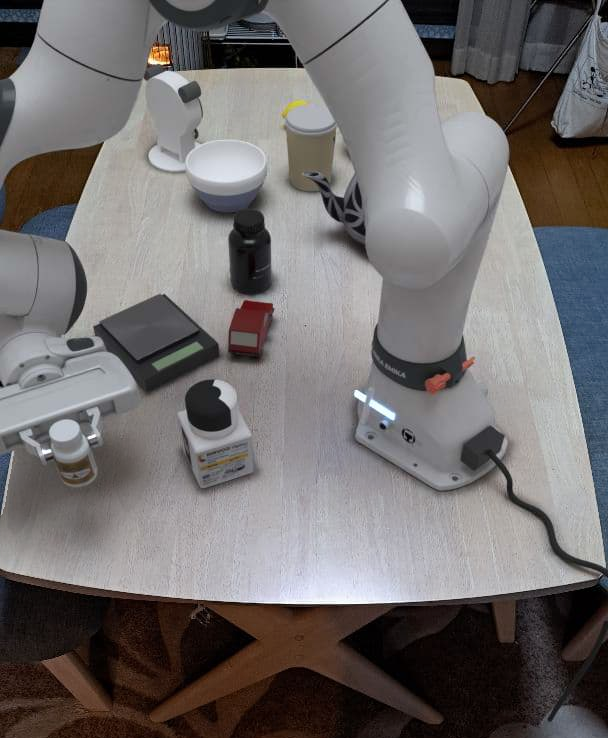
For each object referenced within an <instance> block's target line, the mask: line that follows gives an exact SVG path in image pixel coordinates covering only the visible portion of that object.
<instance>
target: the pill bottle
mask: <svg viewBox="0 0 608 738" xmlns="http://www.w3.org/2000/svg"><path fill="white" fill-rule="evenodd" d="M49 435H50V442H51V444H50V449H51V451H52V454H53V457H54V459H55V462H54V463H55V466H56V470H57V471H58V474H59V477H60V479H61V481H62V483H63V484H65V485H66V486H68V487H70V488H82V487H85V486H88V485H90V484H91V483H93V482H94V480H96V478H97V475H98V466H97V463H96V459H95V456H94V453H93V451H92V449H91V447H90V444H89V441H88V439H87V437H86V434H83V432H82V428H80V426H79V425H78V423H77V422H75V421H73V420H67V419H66V420H60V421H58V422H56V423H54V424H53V425H52V426H51V428H50V430H49Z"/></svg>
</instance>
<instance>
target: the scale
mask: <svg viewBox="0 0 608 738" xmlns="http://www.w3.org/2000/svg"><path fill="white" fill-rule="evenodd" d="M98 322H99V323H98V324H97V323H96V325H93V326H92V328H93V333H94V336H97V337H100V338H101V339H102V340H103V342H104V345H105V347H106V349H107V352H110V353H112V354H114V355H116V356H117V357H118V358H119V359H120V360H121V361H122V362H123V364H124V365H125V366H126V367H127V369H128V370H129V372H130V373H131V375H132V376H133V378H134V380H135V381H136V383H137V384H139V385H140V386H141V387H142V389H144V391H145V392H146V393H150V392H152V391H153V390H155V389H157V388H159V387H162V386H163V385H165V384H167V383H169V382H172V380H175V379H177V378H179V377H181V376H183V375H185V374H187V373H189V372H191V371H192V370H195V369H197V368H199V367H200V366H202V365H204V364H206V363H208V362H210V361H212V360H214V359H216V358H218V357H220V356H221V355H220V347H219V342H218V341H216V340H215V339H214V338H213V336H211V335H210V334H209V333H208V332H207V331H206V330H204V329H203V328H202V327H201V326H200V325H199V324H198V323H197V322H196V321H195V320H194V319H193V318H191V317H190V316H189V315H188V314H187V313H186V312H185V311H184V310H183V309H182V308H181V307H180V306H179V305H178V304H176V302H174V300H172V299H171V298H170V297H169V296H168V295H166V293H163V294H161V293H158V294H156V295H154V296H151V297H149V298H147V299H145V300H143V301H140V302H138V303H136V304H134V305H132V306H130V307H127V308H125V309H122V310H121V311H119V312H116V313H114V314H112V315H110V316H108V317H105V318H103V319H102V320H99V321H98Z"/></svg>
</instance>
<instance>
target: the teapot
mask: <svg viewBox="0 0 608 738" xmlns="http://www.w3.org/2000/svg"><path fill="white" fill-rule="evenodd" d="M302 175H303V176H305V177H307V178H309V179H311V180H313V181H314V182H315V183H316V184H317V186H318V188H319V193H320V196H321V200H322V203H323V206H324V209H325V211H326V212H327V214H328V215H329V216H330V217H331V218H332V219H333V220H334V221H335V222H338V223H341V224H343V226H344V228H345V230H346V232H347V233H348V235H350V237H351V238H352V239H353V240H354V241H356V242H357V243H358V244H360V245H361V246H362V247H363V248H364V249H366V245H365V236H366V220H365V211H364V205H363V201H362V197H361V193H360V189H359V185H358V182H357V178H356V175H355V172H353V175H352V177H351V179H350V180H349V182H348V185H347V187H346V190H345V192H344V195H343V196H338V195H336V194H335V193H334V192H333V190H332V188H331V185H330V184H329V182H328V180H327V178H326V177H325V176H324V175H323V174H321V173H319V172H304V173H302Z"/></svg>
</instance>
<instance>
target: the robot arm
mask: <svg viewBox="0 0 608 738" xmlns="http://www.w3.org/2000/svg"><path fill="white" fill-rule="evenodd" d="M261 13H262V14H265V15H267V16H268V17H269V18H270V19H271V20H273V22H275V24H276V25H277V26H278V27H279V29H280V30H281V32H283V34H284V35H285V37H286V39H287V40H288V42H289V44H290V45H291V47H292V49H293V51H294V52H295V54H296V56H297V58H298V60H299V62H300V63H301V64H302V66H303V68H304V70H305V71H306V73H307V75H308V76H309V79H310V80H311V82H312V83H313V85H314V87H315V89H316V90H317V93H318V94H319V96H320V98H321V99H322V101H323V103H324V106H325V107H327V108H328V110H329V112H330V114H331V115H332V117H333V119H334V121H335V123H336V124H337V129H338V130H339V133H340V134H341V137H342V140H343V139H344V141H343V143H344V142H345V143H344V145H345V144H346V145H345V147H346V149H347V150H346V151H347V152H348V155H349V157H350V161H351V164H352V167H353V171H354V173H355V175H356V178H357V182H358V185H359V189H360V193H361V197H362V201H363V205H364V211H365V220H366V236H365V245H366V248H365V251H366V255H367V257H368V260H369V262H370V264H371V266H372V267H373V269H374V270H375V271H376V272H377V274H379V276H381V277H382V282H381V289H380V290H381V291H380V299H379V300H380V301H379V309H378V318H377V322H376V325H375V327H374V330H373V337H372V340H371V344H370V345H371V353H370V354H371V359H372V361H371V362H372V363H371V367H370V371H369V375H368V379H367V382H366V385H365V388H364V390H363V392H361V391H359V390H357V389H356V390H354V397H355V398H357V399H358V403H357V409H356V411H357V417H358V424H357V427H356V430H355V434H354V439H355V440H356V441H357V442H358V443H359V444H361V445H363V446H364V447H366V448H368V449H369V450H371V451H373V452H374V453H376V454H377V455H379V456H381V457H382V458H384V459H386V461H388V462H390V463H392V464H393V465H395V466H397V467H398V468H400V469H401V470H403V471H404V472H406V473H408V474H410V475H411V476H413V477H414V478H416V479H418V480H419V481H421V482H422V483H424V484H426V485H428V486H429V487H431V488H432V489H434V490H436V491H451V490H455V489H459V488H462V487H465V486H467V485H469V484H472V483H474V482H475V481H477V480H479V479H481V478H483V476H485V475H486V474H487V473H489V472H490V471H492V470H493V469H494V468H495V467H496V466H497V467H498V469H500V471H501V472H502V474H503V476H504V478H505V482H506V494H507V496H508V498H509V499H510V500H511V501H512V502H513V503H514V504H515V505H517V506H518V507H521V508H522V509H524V510H527V511H529V512H532V513H534V515H535V514H536V515H537V516H538V517H540V519H542V521H543V522H544V524H545V527H546V530H547V533H548V538H549V542H550V545H551V547H552V548H553V550H554V551H555V553H556V554H557V555H558V556H560V557H561V558H562V559H563V560H565V561H567V562H569V563H571V564H573V565H576V566H580V567H583V568H587V569H590V570H594V571H596V572H598V573H601V574H602V575H603V576H605V577H606V578H607V579H608V569H607V568H606V567H604V566H602V565H600V564H598V563H595V562H592V561H588V560H585V559H581V558H578V557H575V556H574V555H571V554H569V553H567V552H566V551H565V550H563V548H562V547H561V546H560V544H559V543H558V540H557V537H556V532H555V528H554V524H553V523H552V520H551V519H550V517H549V515H547V513H546V512H545V511H543V510H542V509H540V508H539V507H537V506H534V505H532V504H530V503H528V502H526V501H523V500H522V499H521V498H519V497H517V495H516V494H515V493H514V490H513V489H514V488H513V487H514V482H513V481H514V480H513V477H512V475H511V473H510V471H509V469H508V468H507V466H506V465H505V464H504V462H503V461H502V459H503V458H504V456H505V454H506V452H507V449H508V445H509V441H508V438H507V437H506V435H505V434H503V433H502V431H501V430H500V429H499V428H498V427H497V426H496V415H495V411H494V408H493V406H492V405H491V403H490V401H489V400H488V398H487V396H488V394H489V393H488V388H487V386H486V385H485V384H484V382H478V381H477V380H476V378H475V376H474V375H473V373H472V372H471V370H470V369H469V368H471V367H472V366H473V365H474V364H475V360H476V356H472V357H470V358H468V359H467V351H466V344H465V337H464V329H465V325H466V319H467V315H468V311H469V306H470V303H471V298H472V294H473V289H474V286H475V283H476V280H477V277H478V273H479V270H480V267H481V264H482V261H483V258H484V256H485V251H486V247H487V246H488V245H487V244H488V241H489V238H490V235H491V232H492V228H493V224H494V222H495V221H494V220H495V218H496V215H497V214H496V213H497V210H498V207H499V204H500V200H501V195H502V191H503V189H504V184H505V181H506V177H507V172H508V167H509V160H510V146H509V141H508V139H507V136H506V134H505V132H504V130H503V129H502V127H501V126H500V125H499V124H498V123H497V122H496V121H495V120H494V119H492V117H490V116H488V115H486V114H484V113H481V112H477V111H461V112H458V113H455V114H452V115H450V116H449V117H448V118H446V119H444V120H443V121H441V117H440V114H439V108H438V103H437V97H436V95H437V94H436V74H435V69H434V65H433V61H432V60H431V58H430V56H429V53H428V51H427V50H426V47H425V46H424V44H423V42H422V40H421V38H420V36H419V34H418V32H417V30H416V28H415V26H414V24H413V22H412V20H411V19H410V16H409V14H408V12H407V10H406V9H405V7H404V4H403V2H402V1H401V0H43V2H42V6H41V10H40V14H39V19H38V23H37V27H36V32H35V35H34V40H33V43H32V45H31V48H30V50H29V52H28V54H27V56H26V57H25V59H24V60H23V61H22V63H21V64H20V66H19V67H18V68H17V69H16V70H15V71H14V72H13V73H12V74H11V75H10V76H9V77H7V78H3V79H0V190H1V189H2V187H3V184H4V182H5V180H6V178H7V175H8V174H9V172H11V170H12V169H13V168H14V167H15V166H16V165H17V164H19V163H21V162H23V161H25V160H26V159H29V158H32V157H35V156H39V155H43V154H47V153H51V152H52V153H53V152H57V151H64V150H65V151H66V150H75V149H84V148H90V147H93V146H97V145H99V144H102V143H104V142H106V141H108V140H110V139H111V138H113V137H114V136H116V135H118V133H120V132H121V131H122V130H123V129H124V128H125V127H126V125H127V124H128V122H129V120H130V119H131V116H132V114H133V112H134V109H135V107H136V105H137V101H138V99H139V95H140V93H141V92H140V91H141V89H142V85H143V81H144V78H143V77H144V74H145V70H146V69H147V66H148V62H149V60H150V56H151V52H152V49H153V46H154V43H155V41H156V38H157V36H158V34H159V32H160V31H161V29H162V28H163V27H164V25H166V24H167V23H168V22H169V23H170V24H172V25H173V26H176V27H178V28H180V29H183V30H187V31H190V32H211V31H215V30H219V29H221V28H225V27H227V26H229V25H231V24H233V23H236V22H239V21H241V20H245V19H247V18H250V17H254V16H256V15H259V14H261ZM87 296H88V281H87V275H86V271H85V269H84V266H83V264H82V261H81V259H80V258H79V256H78V254H77V252H76V250H74V248H73V247H72V245H71V244H70V243H68V242H67V241H66V240H61V239H56V238H52V237H48V236H47V237H46V236H42V235H36V234H31V233H21V232H16V231H10V230H5V229H0V382H1V384H2V386H0V456H3V455H6V454H8V453H12V452H15V451H18V450H20V449H25V450H26V452H27V453H29V454H32V455H33V456H35V457H37V458H39V460H40V462H41V464H42V466H43V467H44V466H46V465H49V464H52V463H55V459H54V457H53V454H52V451H51V446H50V445H49V442H44V441H47V440H51V438H50V435H49V430H50V428H51V426H52V425H53V424H54V423H56V422H58V421H60V420H66V419H67V420H73V421H75V422H77V423H78V425H79V426H80V429H82V428H85V429H83V431H84V435H85V436H86V437H87V439H88V441H89V444H90V447H91V450H92V449H95V448H99V447H101V446H104V442H103V438H102V432H103V428H104V422H103V421H107V420H110V419H112V418H115V417H118V416H122V415H125V414H127V413H131V412H133V411H136V410H137V409H138V408H139V407H140V404H141V401H142V400H141V394H140V391H139V390H140V389H139V387H138V383H137V381H136V380H135V379H134V378H133V376H132V375H131V373H130V372H129V370H128V369H127V367H126V366H125V365H124V364H123V362H122V361H121V360H120V359H119V358H118V357H117V356H116V355H114V354H112V353H110V352H108V351H107V349H106V347H105V345H104V342H103V340H102V339H101V338H100V337H97V336H95V335H93V336H80V337H62V336H65V335H66V334H67V333H69V332H70V330H71V329H72V328H73V326H74V325H75V324H76V322H77V321H78V319H79V318H80V316H82V315H81V314H82V313H83V310H84V308H85V305H86V301H87ZM88 426H90V427H89V428H86V427H88ZM41 442H44V443H42V444H41ZM607 632H608V620H604V621H603V623H602V626H601V629H600V630H599V634H598V636H597V638H596V641H595V643H594V645H593V647H592V649H591V651H590V653H589V654H588V656H587V657H586V660H585V661H584V663H583V664H582V665H581V667H580V668H579V671H578V672H577V673H576V675H574V677H573V679H572V680H571V682H570V683H569V685H568V686H567V687H566V689H565V690H564V691H563V693H562V695H561V696H560V698H559V699H558V700H557V702H556V704H555V705H554V707H553V708H552V710H551V711H550V713H549V715H548V716H547V722H548V723H551V722H552V721H553V720H554V719H555V717H556V715H557V713H558V712H559V711H560V709H561V707H562V706H563V704H564V703H565V701H566V700H567V699H568V697H569V696H570V695H571V693H572V692H573V690H574V689H575V687H576V686H577V685H578V684H579V682H580V681H581V679H582V677H584V675H585V673H586V672H587V670H589V667H590V666H591V664H592V662H593V661H594V659H595V657H597V654H598V652H599V650H600V648H601V646H602V645H603V642H604V640H605V638H606V635H607Z"/></svg>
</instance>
